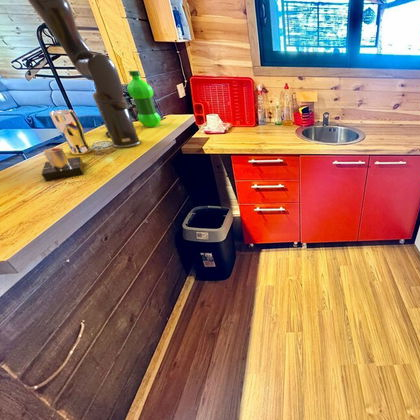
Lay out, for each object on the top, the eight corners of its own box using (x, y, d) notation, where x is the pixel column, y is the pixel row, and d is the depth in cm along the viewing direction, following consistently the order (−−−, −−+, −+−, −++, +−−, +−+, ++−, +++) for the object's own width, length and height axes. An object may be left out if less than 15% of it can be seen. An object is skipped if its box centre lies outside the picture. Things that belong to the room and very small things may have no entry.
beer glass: (72, 149, 101) (52, 110, 93) (94, 147, 104) (76, 109, 96) (67, 156, 96) (45, 114, 88) (91, 153, 99) (71, 113, 91)
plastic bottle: (166, 123, 137) (151, 70, 123) (156, 128, 128) (138, 72, 114) (147, 122, 137) (130, 69, 123) (136, 128, 128) (115, 71, 114)
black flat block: (49, 169, 86) (44, 161, 85) (83, 163, 91) (79, 156, 90) (45, 181, 79) (41, 173, 78) (83, 174, 84) (79, 167, 82)
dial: (48, 169, 81) (38, 151, 78) (59, 163, 84) (49, 146, 81) (64, 168, 81) (54, 151, 78) (73, 163, 85) (64, 146, 82)
